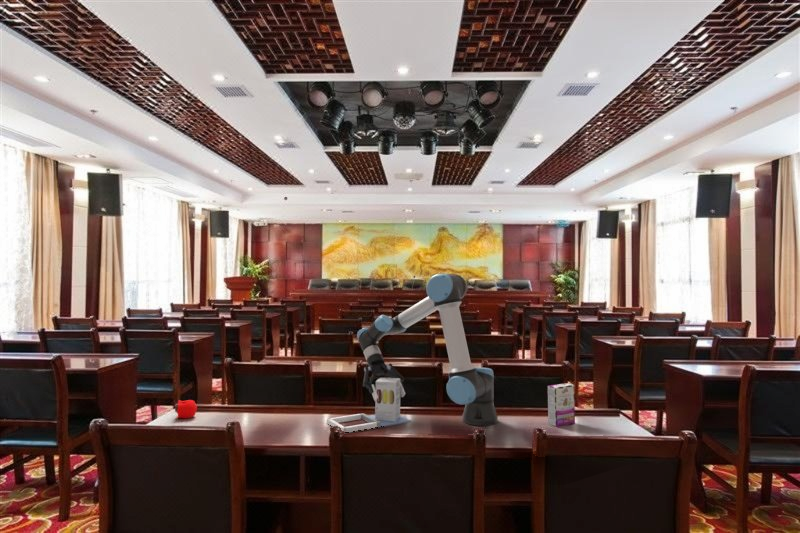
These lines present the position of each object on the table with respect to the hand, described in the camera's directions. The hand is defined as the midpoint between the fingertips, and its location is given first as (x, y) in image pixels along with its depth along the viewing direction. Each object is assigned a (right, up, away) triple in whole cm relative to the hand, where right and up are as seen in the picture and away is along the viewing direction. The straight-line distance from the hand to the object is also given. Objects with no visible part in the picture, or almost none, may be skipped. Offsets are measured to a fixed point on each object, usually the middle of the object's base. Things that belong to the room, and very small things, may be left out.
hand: (390, 397), depth 207 cm
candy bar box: (+73, -11, -4) cm, 74 cm away
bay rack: (-9, -10, -3) cm, 13 cm away
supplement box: (-1, -10, +2) cm, 10 cm away
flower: (-90, -10, +4) cm, 90 cm away
